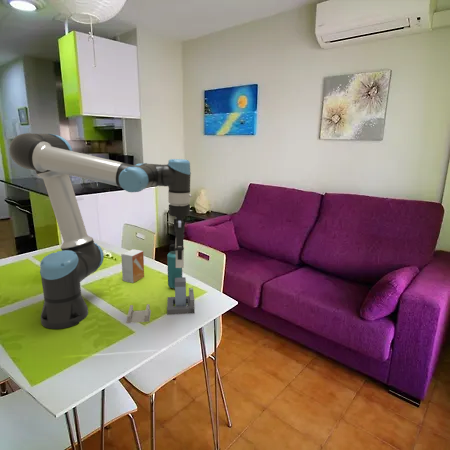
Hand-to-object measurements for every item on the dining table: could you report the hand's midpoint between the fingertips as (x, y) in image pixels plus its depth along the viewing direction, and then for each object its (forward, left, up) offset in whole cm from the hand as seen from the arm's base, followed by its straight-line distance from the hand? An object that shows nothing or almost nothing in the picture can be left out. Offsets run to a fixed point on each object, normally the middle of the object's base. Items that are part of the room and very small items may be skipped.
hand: (179, 260), depth 118 cm
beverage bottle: (-2, +18, -20) cm, 27 cm away
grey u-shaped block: (-15, -5, -20) cm, 25 cm away
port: (0, 0, -20) cm, 20 cm away
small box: (-21, +30, -20) cm, 41 cm away
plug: (0, 0, -20) cm, 20 cm away
